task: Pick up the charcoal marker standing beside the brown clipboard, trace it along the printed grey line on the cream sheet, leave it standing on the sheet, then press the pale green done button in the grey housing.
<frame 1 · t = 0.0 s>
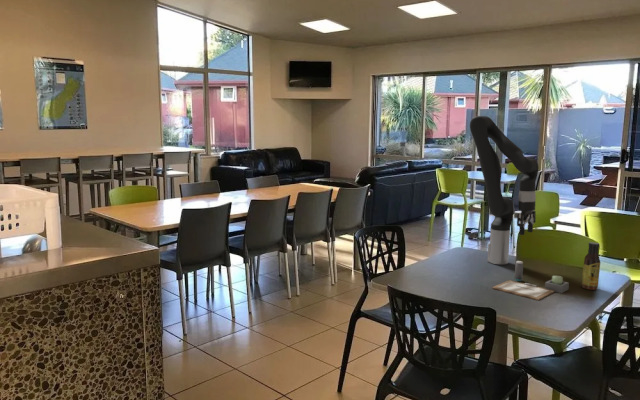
hand: (526, 233, 250), 17 cm above the table, tool pointing down, fingers open, 8 cm apart
marker: (518, 280, 232), on the table
done button: (557, 280, 219), point 4 cm above the table, slide at 0.0 cm
button housing: (556, 289, 220), on the table
clipboard: (522, 290, 218), on the table
sauce bottle: (589, 288, 222), on the table
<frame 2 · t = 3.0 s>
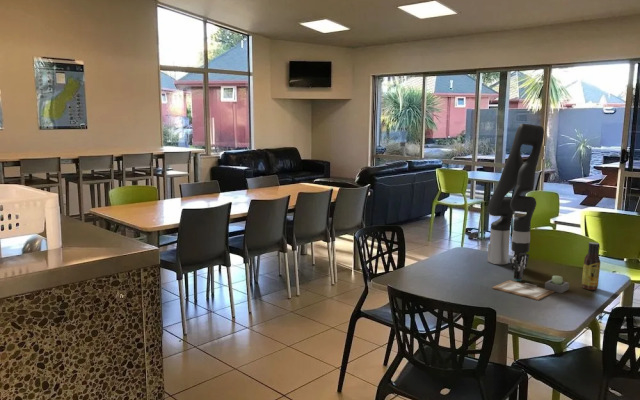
hand: (518, 277, 232), 1 cm above the table, tool pointing down, fingers closed on marker, 3 cm apart
marker: (518, 280, 232), on the table, touching gripper
everything else where it was.
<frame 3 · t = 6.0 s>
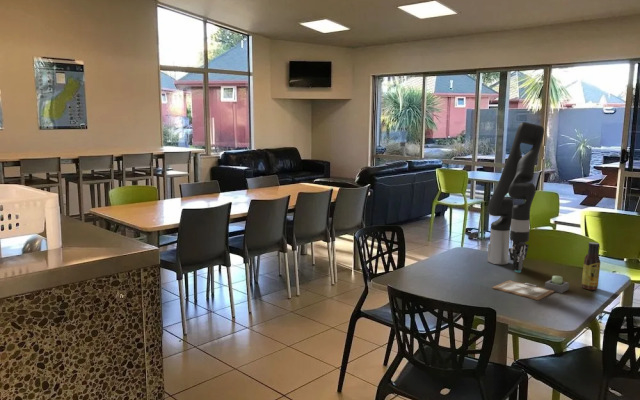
hand: (517, 268, 221), 8 cm above the table, tool pointing down, fingers closed on marker, 3 cm apart
marker: (517, 271, 221), point 7 cm above the table, touching gripper
everything else where it was.
when the fingers open (2 cm above the table, at t = 8.9 s): marker stays where it is, resting on clipboard.
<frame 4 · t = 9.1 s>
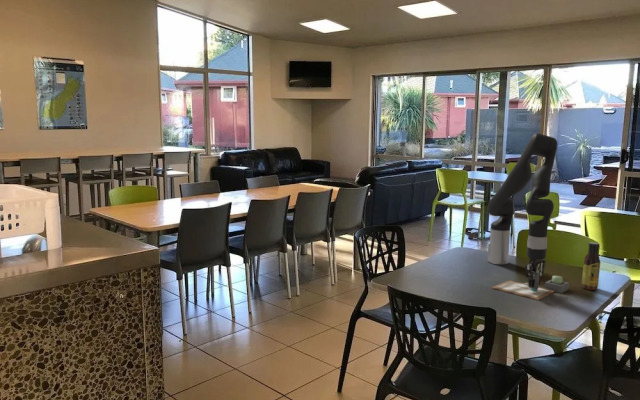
hand: (534, 285, 216), 3 cm above the table, tool pointing down, fingers open, 4 cm apart
marker: (534, 290, 216), point 1 cm above the table, touching clipboard
everything else where it was.
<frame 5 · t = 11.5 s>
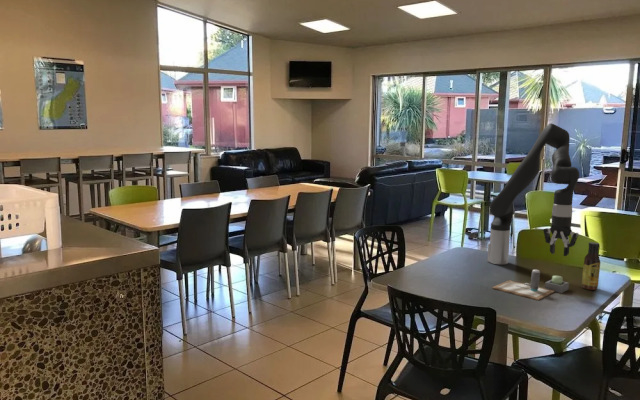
hand: (559, 254, 218), 15 cm above the table, tool pointing down, fingers open, 4 cm apart
nothing on the table moved.
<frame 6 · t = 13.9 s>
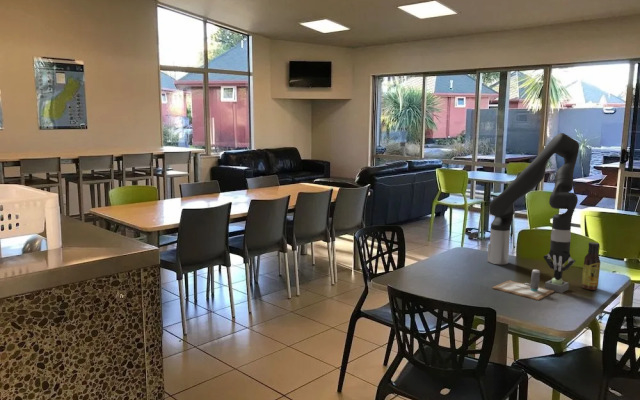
hand: (557, 279, 219), 5 cm above the table, tool pointing down, fingers closed
done button: (557, 283, 220), point 3 cm above the table, slide at 1.0 cm, touching gripper
everything else where it was.
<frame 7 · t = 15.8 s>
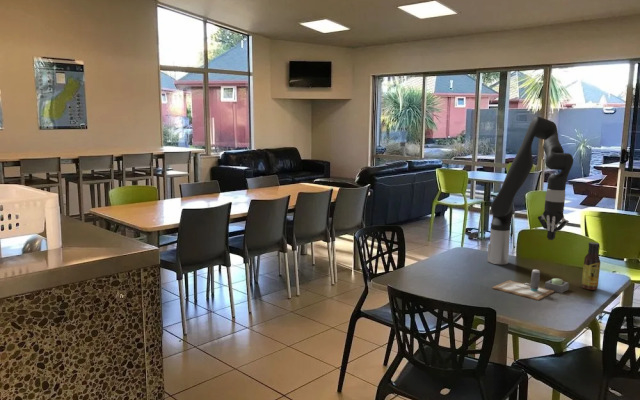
hand: (550, 239, 222), 20 cm above the table, tool pointing down, fingers closed
done button: (556, 283, 220), point 2 cm above the table, slide at 1.3 cm
everything else where it was.
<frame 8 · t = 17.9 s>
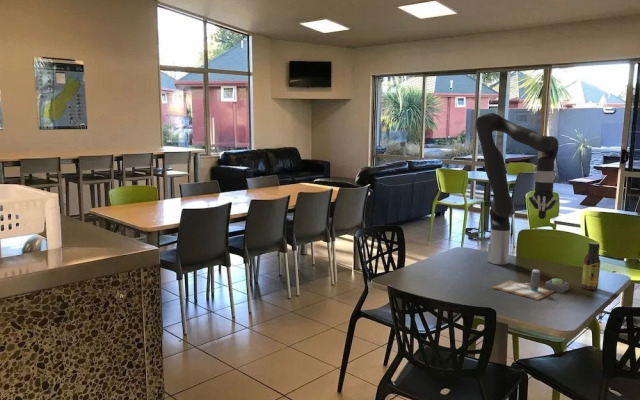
hand: (541, 218, 235), 27 cm above the table, tool pointing down, fingers closed
nothing on the table moved.
at the end: marker inside the target area on the clipboard (4.4 cm from its centre), point 0.7 cm above the clipboard's base; the gripper is holding nothing; done button slide at 1.3 cm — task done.
